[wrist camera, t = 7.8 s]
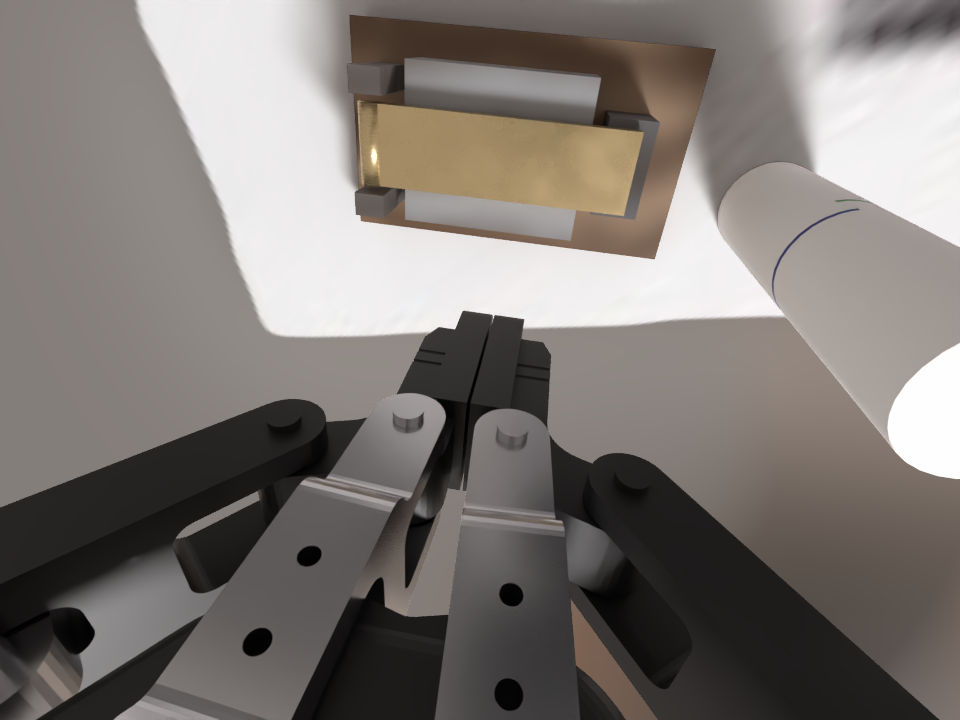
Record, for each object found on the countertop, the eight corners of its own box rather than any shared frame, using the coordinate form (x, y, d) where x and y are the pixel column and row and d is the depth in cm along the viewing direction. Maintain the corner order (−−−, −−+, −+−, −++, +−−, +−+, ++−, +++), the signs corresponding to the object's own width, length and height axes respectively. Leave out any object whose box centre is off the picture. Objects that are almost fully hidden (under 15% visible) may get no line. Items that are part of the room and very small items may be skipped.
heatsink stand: (365, 17, 35) (310, 8, 28) (705, 49, 33) (744, 49, 26) (372, 210, 43) (331, 245, 35) (649, 246, 41) (667, 290, 33)
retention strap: (362, 99, 31) (353, 101, 30) (641, 129, 30) (644, 133, 29) (366, 179, 34) (358, 184, 33) (621, 210, 33) (624, 217, 31)
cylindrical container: (710, 183, 38) (886, 351, 17) (815, 146, 35) (1171, 288, 14) (725, 265, 41) (888, 492, 20) (822, 236, 38) (1122, 460, 18)
